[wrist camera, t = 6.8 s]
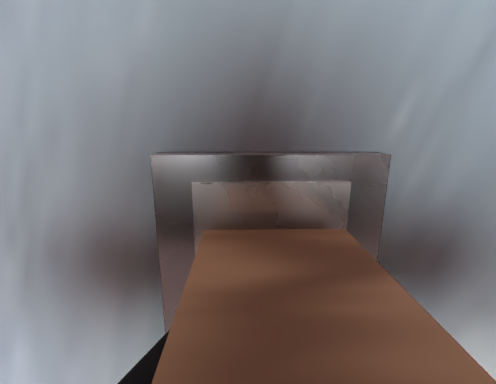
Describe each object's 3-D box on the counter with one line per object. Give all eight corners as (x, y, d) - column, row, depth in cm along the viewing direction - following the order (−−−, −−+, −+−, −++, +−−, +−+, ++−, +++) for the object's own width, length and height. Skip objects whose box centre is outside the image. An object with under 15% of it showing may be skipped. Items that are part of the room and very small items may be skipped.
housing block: (344, 228, 10) (512, 397, 4) (333, 345, 11) (446, 613, 5) (203, 230, 10) (143, 408, 4) (208, 347, 11) (169, 627, 5)
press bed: (378, 152, 11) (393, 155, 10) (354, 351, 14) (364, 373, 12) (158, 152, 11) (148, 155, 10) (174, 355, 13) (168, 377, 12)
